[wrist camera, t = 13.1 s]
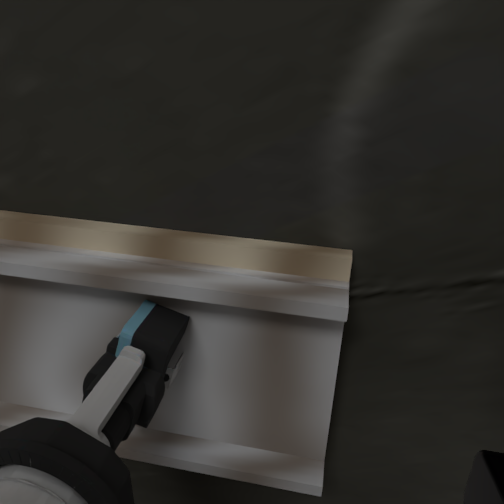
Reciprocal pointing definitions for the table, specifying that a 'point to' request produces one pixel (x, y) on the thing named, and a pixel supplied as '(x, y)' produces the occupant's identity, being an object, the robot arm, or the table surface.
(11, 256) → the rail board
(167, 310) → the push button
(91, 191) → the table surface
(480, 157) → the table surface
